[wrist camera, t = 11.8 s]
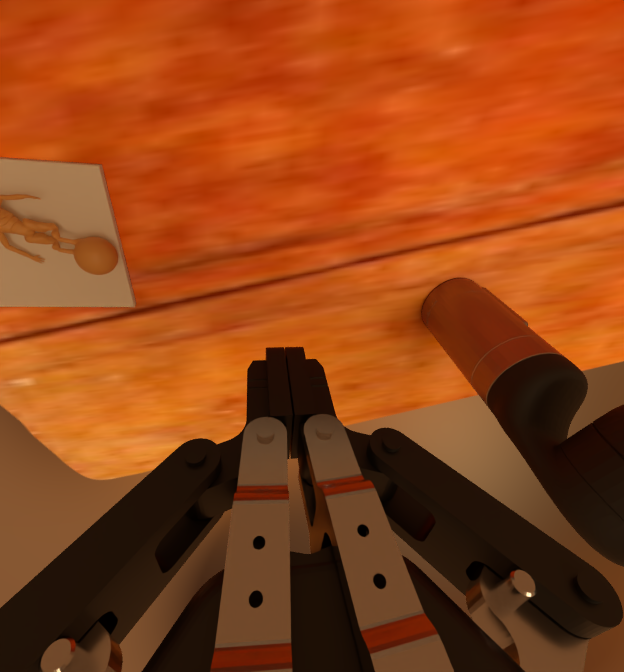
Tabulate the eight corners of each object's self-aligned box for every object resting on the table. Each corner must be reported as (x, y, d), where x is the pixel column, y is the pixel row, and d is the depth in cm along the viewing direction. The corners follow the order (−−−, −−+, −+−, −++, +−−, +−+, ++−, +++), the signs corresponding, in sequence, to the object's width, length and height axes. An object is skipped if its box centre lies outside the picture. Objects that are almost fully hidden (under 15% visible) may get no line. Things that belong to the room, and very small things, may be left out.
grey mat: (101, 164, 33) (98, 165, 32) (136, 303, 42) (134, 307, 41) (-77, 151, 30) (-84, 153, 30) (1, 303, 39) (-3, 306, 39)
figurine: (130, 228, 34) (21, 159, 33) (85, 252, 30) (-45, 173, 28) (122, 284, 40) (28, 226, 38) (82, 311, 35) (-26, 247, 34)
